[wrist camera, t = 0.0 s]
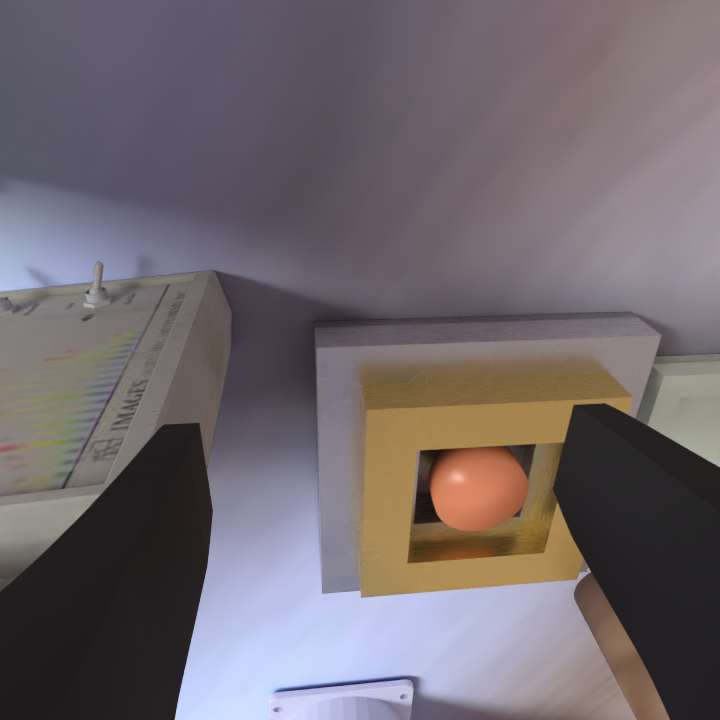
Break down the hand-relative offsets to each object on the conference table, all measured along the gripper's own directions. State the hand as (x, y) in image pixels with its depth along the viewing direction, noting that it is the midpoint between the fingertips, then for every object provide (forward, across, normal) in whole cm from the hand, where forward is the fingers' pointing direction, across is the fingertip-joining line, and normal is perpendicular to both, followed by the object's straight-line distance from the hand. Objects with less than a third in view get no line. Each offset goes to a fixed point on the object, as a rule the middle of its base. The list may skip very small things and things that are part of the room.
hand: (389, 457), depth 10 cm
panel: (+10, -5, +8) cm, 14 cm away
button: (+8, -5, +8) cm, 13 cm away
